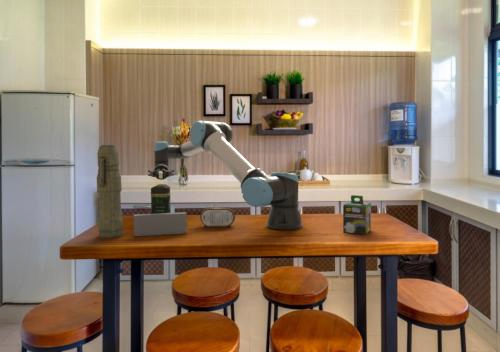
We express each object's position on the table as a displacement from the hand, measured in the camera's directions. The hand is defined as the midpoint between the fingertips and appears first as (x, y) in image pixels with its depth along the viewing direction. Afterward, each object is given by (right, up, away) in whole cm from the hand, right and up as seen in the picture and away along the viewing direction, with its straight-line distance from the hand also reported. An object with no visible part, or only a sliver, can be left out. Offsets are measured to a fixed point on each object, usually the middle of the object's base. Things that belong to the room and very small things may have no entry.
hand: (160, 175), depth 160 cm
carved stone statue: (-14, -24, -21) cm, 35 cm away
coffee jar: (+2, -23, -8) cm, 24 cm away
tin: (+26, -22, -6) cm, 35 cm away
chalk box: (+83, -23, -17) cm, 88 cm away
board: (+5, -23, -19) cm, 31 cm away
